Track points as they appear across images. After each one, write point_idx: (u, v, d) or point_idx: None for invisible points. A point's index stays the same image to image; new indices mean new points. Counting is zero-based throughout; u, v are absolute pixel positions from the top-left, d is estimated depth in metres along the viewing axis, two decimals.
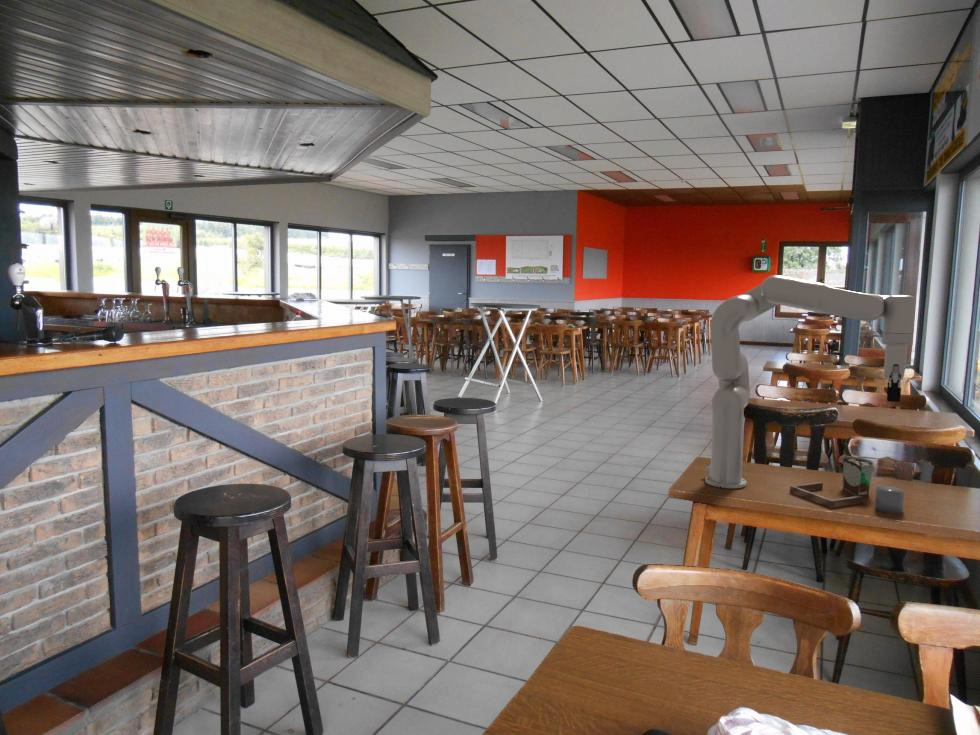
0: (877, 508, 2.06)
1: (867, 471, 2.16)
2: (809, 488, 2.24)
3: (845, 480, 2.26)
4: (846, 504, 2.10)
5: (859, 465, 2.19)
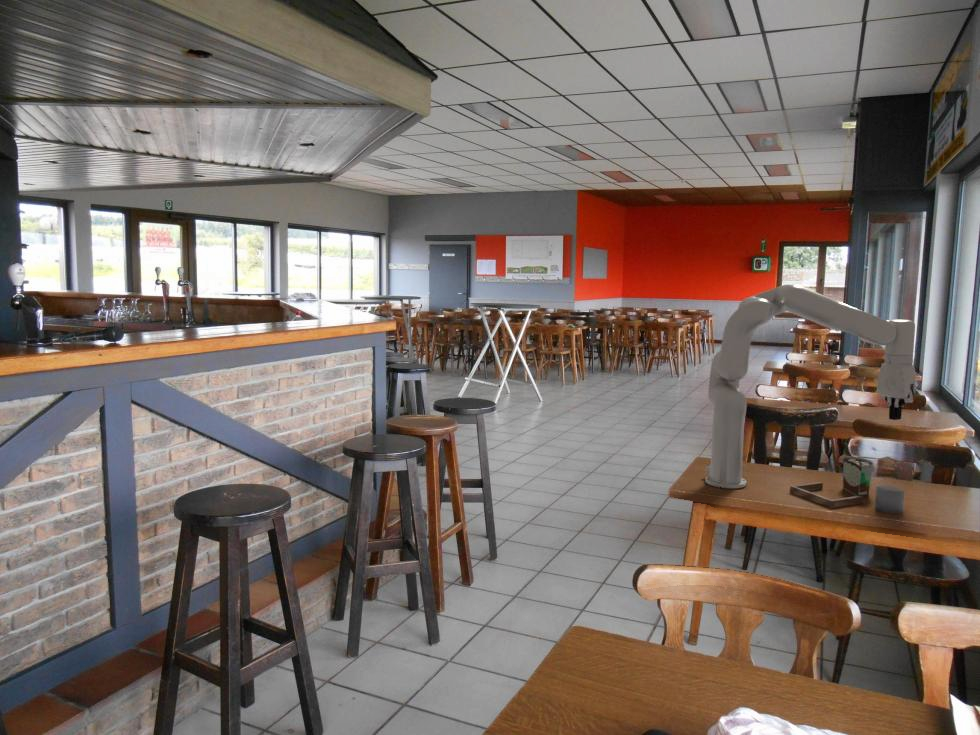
0: (877, 508, 2.06)
1: (867, 471, 2.16)
2: (809, 488, 2.24)
3: (845, 480, 2.26)
4: (846, 504, 2.10)
5: (859, 465, 2.19)
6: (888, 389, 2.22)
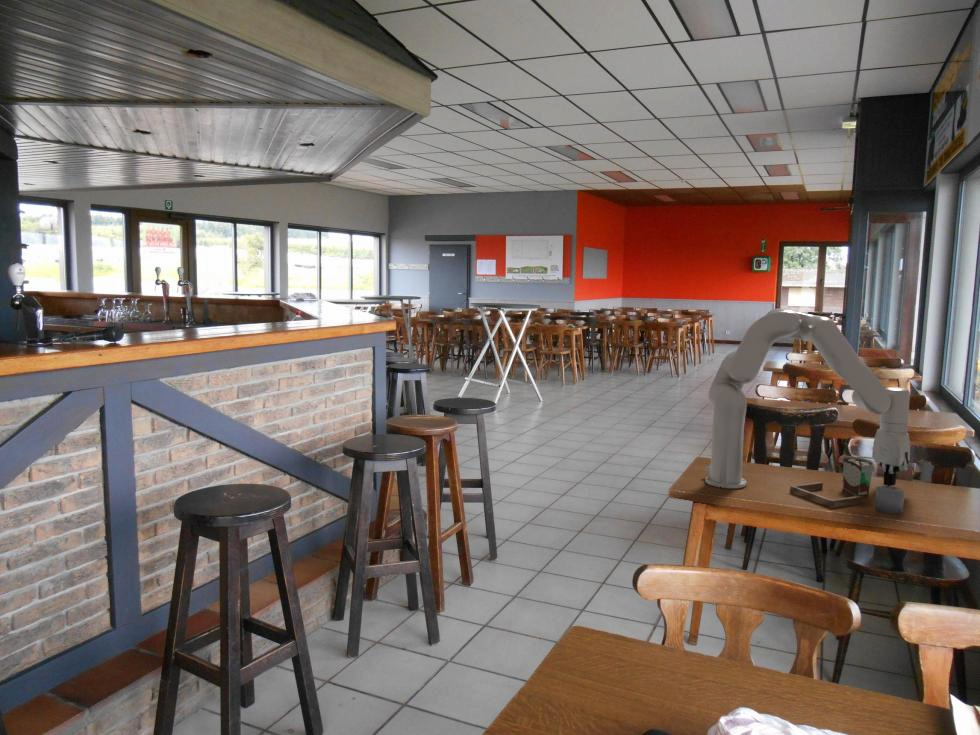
0: (877, 508, 2.06)
1: (867, 471, 2.16)
2: (809, 488, 2.24)
3: (845, 480, 2.26)
4: (846, 504, 2.10)
5: (859, 465, 2.19)
6: (883, 456, 2.25)
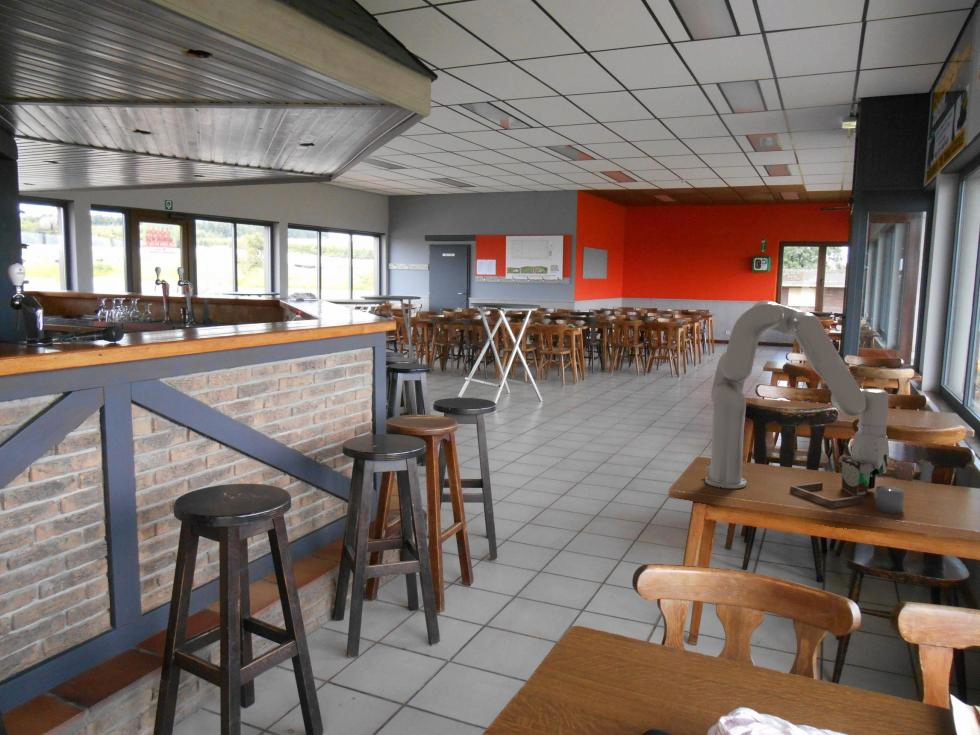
0: (877, 508, 2.06)
1: (865, 471, 2.15)
2: (809, 488, 2.24)
3: (844, 480, 2.26)
4: (846, 504, 2.10)
5: (857, 465, 2.19)
6: (862, 458, 2.22)
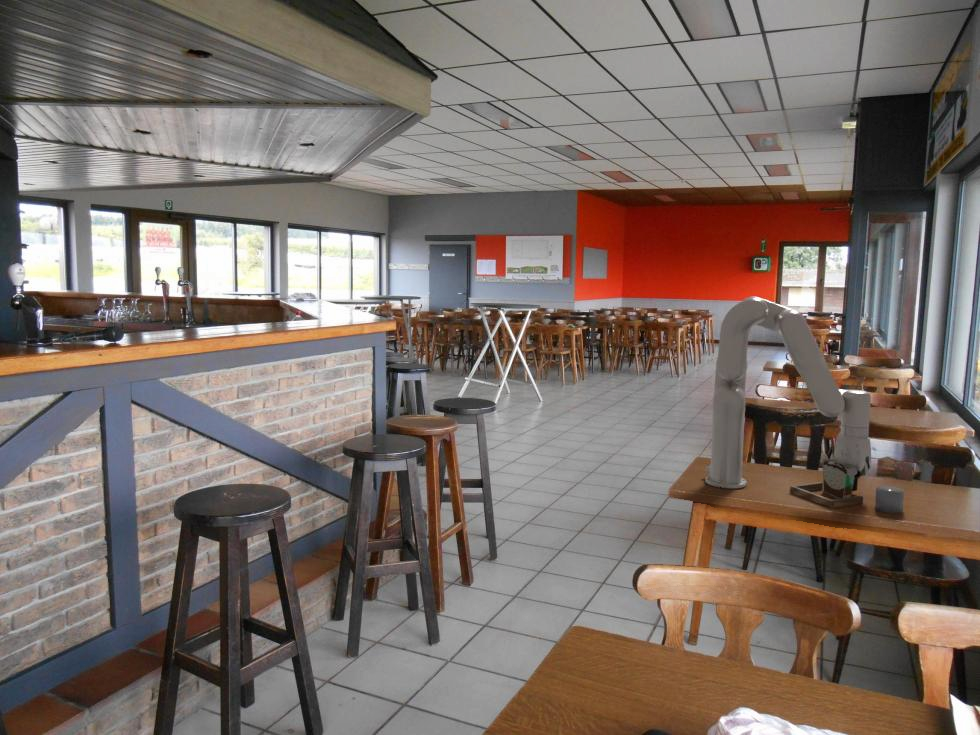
0: (877, 508, 2.06)
1: (852, 474, 2.13)
2: (809, 488, 2.24)
3: (826, 483, 2.22)
4: (846, 504, 2.10)
5: (842, 468, 2.16)
6: (844, 460, 2.19)
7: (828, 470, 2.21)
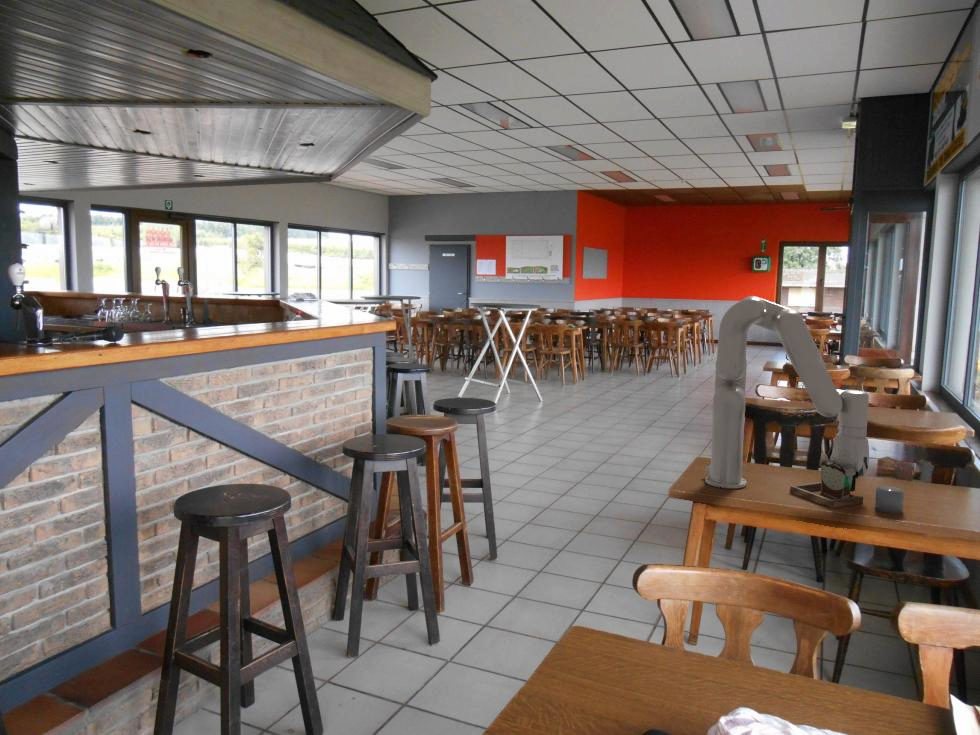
0: (877, 508, 2.06)
1: (851, 474, 2.12)
2: (809, 488, 2.24)
3: (824, 484, 2.22)
4: (846, 504, 2.10)
5: (841, 468, 2.15)
6: (842, 461, 2.19)
7: (826, 471, 2.21)
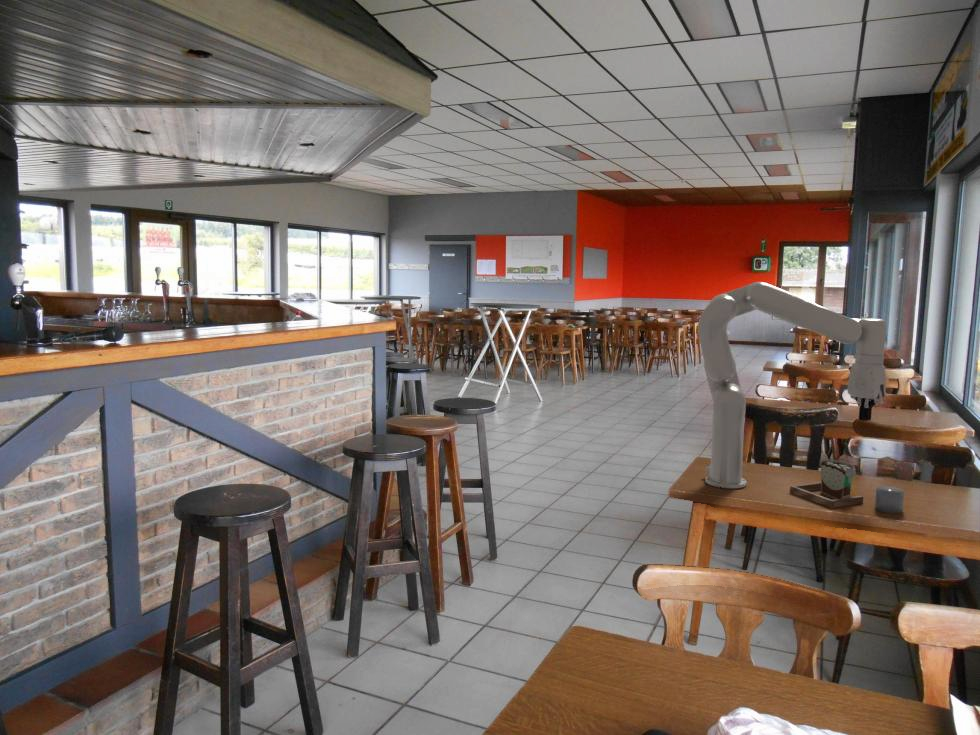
0: (877, 508, 2.06)
1: (851, 474, 2.12)
2: (809, 488, 2.24)
3: (824, 484, 2.22)
4: (846, 504, 2.10)
5: (841, 468, 2.15)
6: (858, 389, 2.18)
7: (826, 471, 2.21)
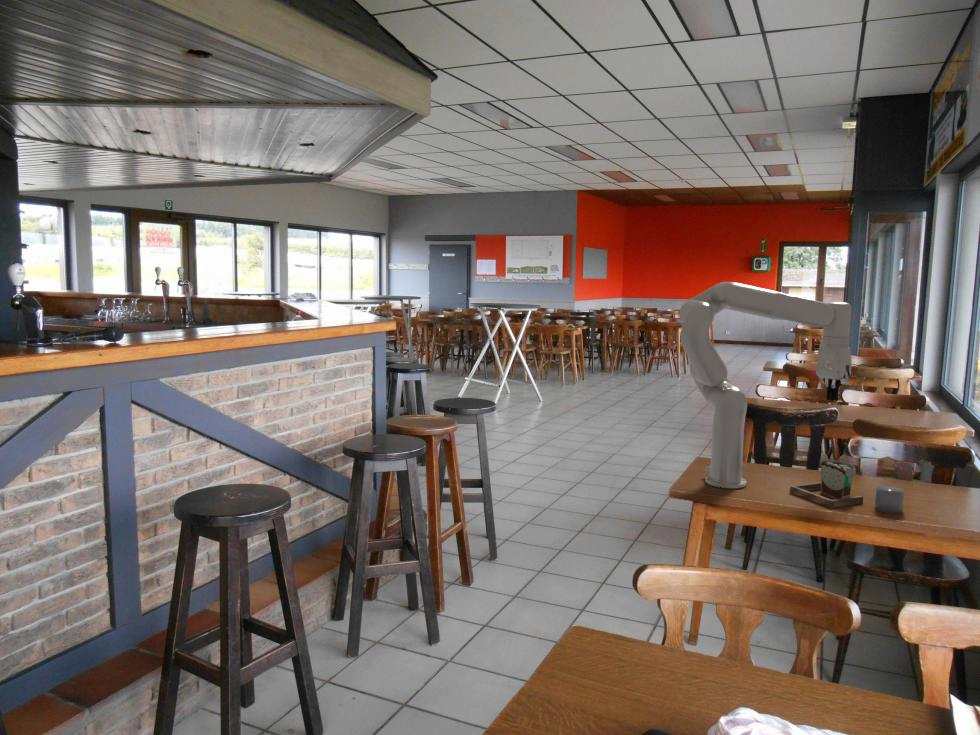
0: (877, 508, 2.06)
1: (851, 474, 2.12)
2: (809, 488, 2.24)
3: (824, 484, 2.22)
4: (846, 504, 2.10)
5: (841, 468, 2.15)
6: (825, 370, 2.27)
7: (826, 471, 2.21)
